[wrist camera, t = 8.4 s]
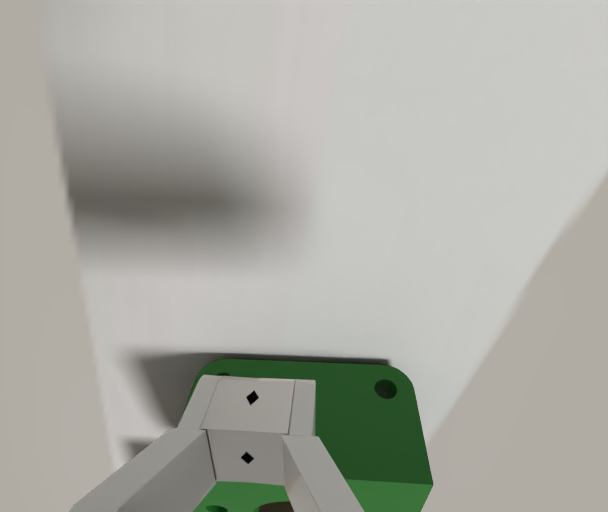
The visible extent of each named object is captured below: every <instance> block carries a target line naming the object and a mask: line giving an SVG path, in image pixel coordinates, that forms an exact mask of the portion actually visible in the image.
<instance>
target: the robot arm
mask: <svg viewBox="0 0 608 512" xmlns="http://www.w3.org/2000/svg"><path fill="white" fill-rule="evenodd" d="M315 409H316V381H315V380H300V379H273V378H247V377H233V376H214V375H203V376H202V377H201V378H200V379H199V381H198V383H197V385H196V388H195V390H194V392H193V394H192V396H191V398H190V401H189V403H188V405H187V407H186V409H185V412H184V414H183V416H182V418H181V420H180V422H179V425H178V427H177V428H170V429H169V430H168V431H167V432H165V433H164V434H163V435H161V436H160V437H159V438H158V439H156V440H155V441H154V442H153V443H151V444H150V445H149V446H148V447H146V448H145V449H144V450H143V451H141V452H140V453H139V454H137V455H136V456H135V457H134V458H132V459H131V460H130V461H129V462H127V463H126V464H125V465H124V466H122V467H121V468H120V469H119V470H117V471H116V472H115V473H113V474H112V475H111V476H110V477H108V478H107V479H106V480H105V481H103V482H102V483H101V484H100V485H98V486H97V487H96V488H95V489H93V490H92V491H91V492H90V493H88V494H87V495H86V496H84V497H83V498H82V499H81V500H79V501H78V502H77V503H76V504H74V505H73V507H72V508H71V510H70V511H69V512H193V511H194V509H195V508H196V507H197V506H198V505H199V503H200V502H201V501H202V500H203V498H204V497H205V496H206V495H207V494H208V492H209V491H210V490H211V489H212V488H213V486H214V485H215V484H216V481H228V482H252V483H262V484H272V485H282V486H285V490H286V492H287V495H288V497H289V500H290V502H291V505H292V507H293V510H294V512H364V510H363V508H362V507H361V505H360V504H359V502H358V500H357V499H356V497H355V495H354V494H353V492H352V491H351V489H350V487H349V486H348V484H347V482H346V481H345V479H344V477H343V476H342V474H341V473H340V471H339V469H338V468H337V466H336V464H335V463H334V461H333V460H332V458H331V456H330V455H329V453H328V451H327V450H326V448H325V446H324V445H323V443H322V442H321V440H320V438H319V437H317V436H315Z"/></svg>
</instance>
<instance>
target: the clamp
mask: <svg viewBox="0 0 608 512" xmlns="http://www.w3.org/2000/svg"><path fill="white" fill-rule="evenodd" d="M203 375H214V376H233V377H247V378H273V379H300V380H315V381H316V409H315V436H317V437H319V438H320V440H321V442H322V443H323V445H324V446H325V448H326V450H327V451H328V453H329V455H330V456H331V458H332V460H333V461H334V463H335V464H336V466H337V468H338V469H339V471H340V473H341V474H342V476H343V477H344V479H345V481H346V482H347V484H348V486H349V487H350V489H351V491H352V492H353V494H354V495H355V497H356V499H357V500H358V502H359V504H360V505H361V507H362V508H363V510H364V512H421V510H422V508H423V505H424V503H425V501H426V499H427V497H428V495H429V493H430V491H431V489H432V487H433V480H432V475H431V471H430V466H429V461H428V456H427V451H426V446H425V441H424V436H423V431H422V426H421V421H420V416H419V411H418V406H417V401H416V396H415V391H414V387H413V385H412V383H411V381H410V379H409V378H408V377H407V376H406V375H405V374H404V373H403V372H401V371H400V370H398V369H396V368H394V367H391V366H387V365H371V364H346V363H320V362H295V361H270V360H244V359H220V360H217V361H214V362H212V363H210V364H208V365H207V366H205V367H204V368H203V369H202V370H201V371H200V372H199V374H198V375H197V377H196V379H195V382H194V384H193V387H192V390H191V393H190V396H189V398H188V401H187V404H186V407H187V405H188V403H189V401H190V398H191V396H192V394H193V392H194V390H195V388H196V385H197V383H198V381H199V379H200V378H201V377H202V376H203ZM186 407H185V409H186ZM184 412H185V410H184ZM184 412H183V414H184ZM182 416H183V415H182ZM285 501H290V500H289V497H288V495H287V492H286V490H285V486H282V485H272V484H262V483H252V482H228V481H216V484H215V485H214V486H213V488H212V489H211V490H210V491H209V492H208V494H207V495H206V496H205V497H204V498H203V500H202V501H201V502H200V503H199V505H198V506H197V507H196V508H195V509H194V511H193V512H259V506H261V505H264V504H268V503H273V502H285Z"/></svg>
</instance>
